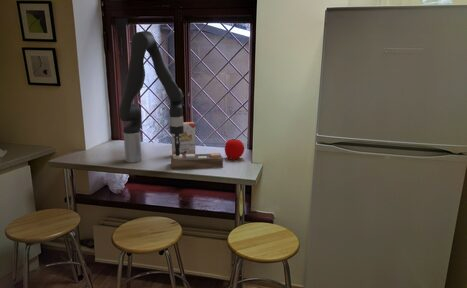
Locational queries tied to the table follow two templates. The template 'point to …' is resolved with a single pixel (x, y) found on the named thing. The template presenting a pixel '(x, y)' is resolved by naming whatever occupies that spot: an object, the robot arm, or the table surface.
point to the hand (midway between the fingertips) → (177, 155)
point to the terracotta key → (214, 155)
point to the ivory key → (177, 156)
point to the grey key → (190, 156)
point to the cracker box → (186, 139)
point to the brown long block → (196, 162)
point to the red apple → (234, 149)
